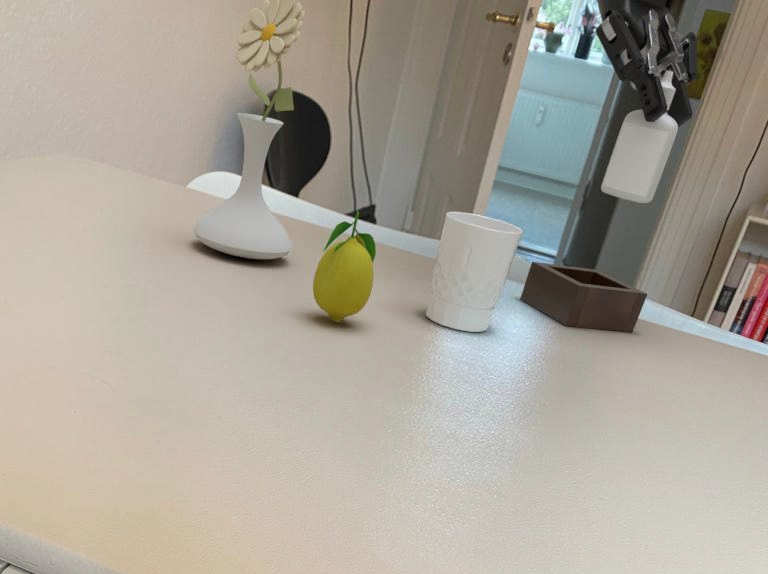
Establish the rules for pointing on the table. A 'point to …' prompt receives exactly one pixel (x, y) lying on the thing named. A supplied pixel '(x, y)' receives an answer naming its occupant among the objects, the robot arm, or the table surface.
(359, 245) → the lemon
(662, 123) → the eye dropper bottle
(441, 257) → the white cup
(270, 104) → the flower in vase
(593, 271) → the holder
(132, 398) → the table surface
